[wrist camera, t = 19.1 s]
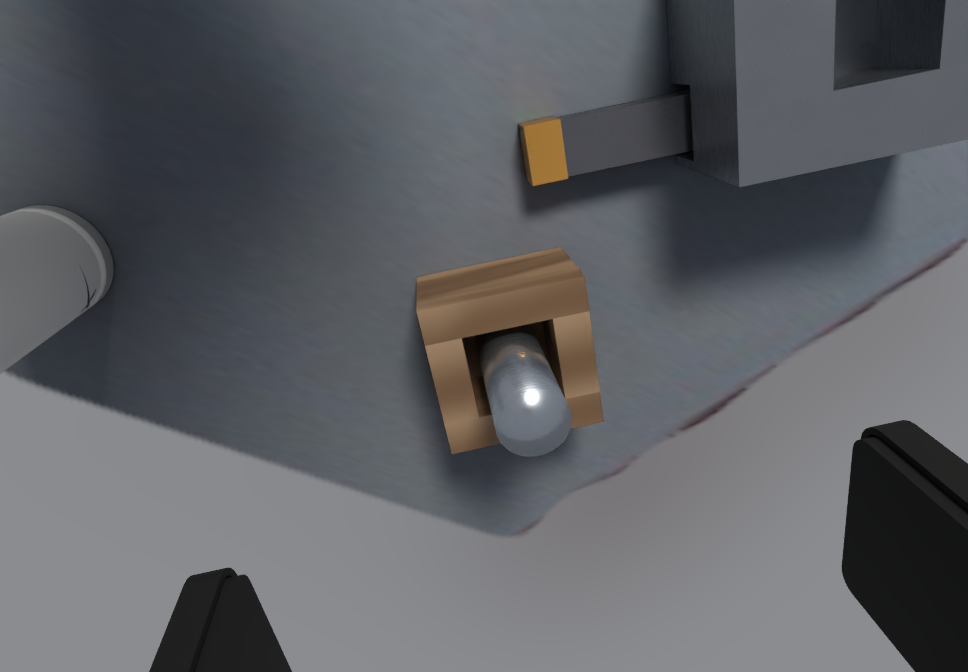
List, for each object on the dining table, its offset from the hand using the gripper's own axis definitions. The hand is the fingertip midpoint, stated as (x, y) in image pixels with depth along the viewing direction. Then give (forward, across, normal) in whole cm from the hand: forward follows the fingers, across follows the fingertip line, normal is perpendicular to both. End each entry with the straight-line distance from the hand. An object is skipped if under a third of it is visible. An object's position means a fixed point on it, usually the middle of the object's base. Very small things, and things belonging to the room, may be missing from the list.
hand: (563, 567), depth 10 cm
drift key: (+30, -13, -1) cm, 32 cm away
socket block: (+30, -20, -4) cm, 37 cm away
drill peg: (+29, -2, +10) cm, 30 cm away
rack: (+30, -2, +10) cm, 31 cm away
